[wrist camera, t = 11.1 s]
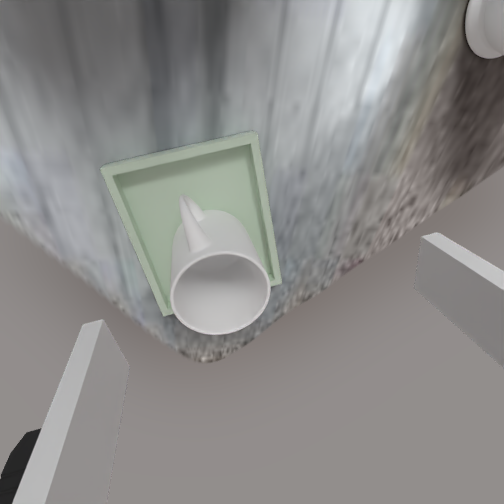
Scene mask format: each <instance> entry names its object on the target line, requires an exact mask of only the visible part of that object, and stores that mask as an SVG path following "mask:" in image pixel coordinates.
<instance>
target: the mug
mask: <svg viewBox="0 0 504 504" xmlns="http://www.w3.org/2000/svg"><path fill="white" fill-rule="evenodd" d="M179 207H180V214H181V219H182V223H181V224H180V226H179V227H178V229H177V231H176V233H175V235H174V238H173V244H172V262H171V284H170V303H171V307H172V310H173V312H174V314H175V316H176V317H177V318H178V319H179V321H180V322H181V323H183V324H184V325H185V326H186V327H188V328H190V329H192V330H194V331H196V332H199V333H203V334H208V335H223V334H229V333H232V332H236V331H238V330H241V329H243V328H245V327H246V326H248V325H250V324H251V323H252V322H254V321H255V320H256V319H257V318H258V317H259V316H260V315H261V314H262V312H263V311H264V309H265V308H266V306H267V303H268V301H269V298H270V291H271V286H270V280H269V277H268V275H267V272H266V270H265V268H264V266H263V264H262V262H261V260H260V258H259V256H258V254H257V252H256V250H255V247H254V245H253V243H252V241H251V239H250V237H249V235H248V233H247V231H246V229H245V227H244V226H243V225H242V223H241V222H240V221H239V220H238V219H237V218H235V217H234V216H233V215H231V214H229V213H227V212H224V211H221V210H203V211H202V210H201V208H200V207H199V206H198V205H197V204H196V203H195V202H194V201H193V200H192V199H191V198H190V197H188V196H187V195H184V194H182V195H181V196H180V198H179Z"/></svg>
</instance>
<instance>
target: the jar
mask: <svg viewBox="0 0 504 504" xmlns="http://www.w3.org/2000/svg"><path fill="white" fill-rule="evenodd" d="M465 31H466V37H467V41H468V44H469V46H470V48H471V49H472V51H473V52H474V53H475V54H477V55H478V56H480V57H482V58H487V59H491V58H497V57H500V56H503V55H504V0H470V1H469V4H468V8H467V12H466V20H465Z"/></svg>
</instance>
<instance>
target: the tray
mask: <svg viewBox="0 0 504 504" xmlns="http://www.w3.org/2000/svg"><path fill="white" fill-rule="evenodd" d="M100 171H101V173H102V176H103V178H104V180H105V183H106V185H107V187H108V190H109V192H110V194H111V197H112V199H113V201H114V203H115V206H116V208H117V210H118V213H119V215H120V217H121V220H122V222H123V224H124V227H125V229H126V231H127V234H128V236H129V238H130V241H131V243H132V245H133V248H134V250H135V252H136V254H137V257H138V259H139V261H140V264H141V266H142V268H143V271H144V273H145V275H146V278H147V280H148V282H149V285H150V287H151V289H152V292H153V294H154V296H155V298H156V301H157V303H158V305H159V308H160V310H161V312H162V315H163V317H164V316H167V315H171V314H174V312H173V310H172V307H171V303H170V284H171V262H172V244H173V238H174V235H175V233H176V231H177V229H178V227H179V226H180V224H181V223H182V219H181V214H180V207H179V198H180V196H181V195H182V194H184V195H187V196H188V197H190V198H191V199H192V200H193V201H194V202H195V203H196V204H197V205H198V206H199V207H200V208H201V210H202V211H203V210H221V211H224V212H227V213H229V214H231V215H233V216H234V217H235V218H237V219H238V220H239V221H240V222H241V223H242V225H243V226H244V227H245V229H246V231H247V233H248V235H249V237H250V239H251V241H252V243H253V245H254V247H255V250H256V252H257V254H258V256H259V258H260V260H261V262H262V264H263V266H264V268H265V270H266V272H267V275H268V277H269V280H270V286H271V287H272V286H275V285H279V284H282V280H281V274H280V267H279V261H278V255H277V249H276V243H275V237H274V231H273V225H272V219H271V213H270V207H269V200H268V194H267V188H266V182H265V176H264V170H263V164H262V158H261V152H260V146H259V140H258V133H257V132H255V131H248V132H244V133H239V134H235V135H231V136H226V137H222V138H217V139H213V140H209V141H204V142H200V143H195V144H191V145H187V146H182V147H178V148H174V149H169V150H165V151H160V152H156V153H152V154H147V155H143V156H138V157H134V158H130V159H125V160H121V161H117V162H112V163H108V164H105V165H103V166H102V167H101V168H100Z"/></svg>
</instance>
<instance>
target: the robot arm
mask: <svg viewBox="0 0 504 504" xmlns="http://www.w3.org/2000/svg"><path fill="white" fill-rule="evenodd" d="M414 289H415V290H416V291H418V292H419V293H420V294H421V295H422V296H423V297H424V298H425V299H427V300H428V301H429V302H430V303H431V304H432V305H433V306H434V307H436V308H437V309H438V310H439V311H440V312H441V313H443V315H444V316H446V317H447V318H448V319H449V320H450V321H451V322H452V323H453V324H455V325H456V326H457V327H458V328H459V329H460V330H461V331H462V332H464V333H465V334H466V335H467V336H468V337H469V338H470V339H471V340H473V341H474V342H475V343H476V344H477V345H478V346H479V347H480V348H482V349H483V350H484V351H485V352H486V353H487V354H488V355H489V356H490V357H492V358H493V359H494V360H495V361H496V362H497V363H498V364H499V365H501V366H502V367H503V368H504V271H502V270H501V269H499V268H497V267H496V266H494V265H492V264H491V263H489V262H487V261H485V260H484V259H482V258H480V257H479V256H477V255H475V254H474V253H472V252H470V251H468V250H467V249H465V248H463V247H462V246H460V245H458V244H457V243H455V242H453V241H452V240H450V239H448V238H447V237H445V236H443V235H442V234H440V233H433V234H429V235H426V236H422V237H421V242H420V249H419V256H418V263H417V270H416V277H415V283H414ZM129 370H130V366H129V363H128V362H127V360H126V358H125V356H124V355H123V353H122V351H121V349H120V348H119V346H118V344H117V342H116V341H115V339H114V337H113V335H112V333H111V332H110V330H109V328H108V326H107V325H106V323H105V321H104V319H102V320H98V321H94V322H91V323H86V324H83V325H82V327H81V330H80V333H79V335H78V338H77V340H76V343H75V345H74V348H73V350H72V353H71V355H70V358H69V360H68V363H67V365H66V368H65V371H64V373H63V376H62V378H61V381H60V383H59V386H58V389H57V391H56V394H55V396H54V398H53V401H52V404H51V406H50V409H49V411H48V414H47V416H46V419H45V421H44V424H43V426H42V428H41V429H38V430H34V431H31V432H27V433H26V434H25V435H24V436H23V438H22V439H21V440H20V442H19V443H18V444H17V446H16V447H15V448H14V450H13V451H12V452H11V454H10V456H9V458H8V460H7V462H6V465H5V467H4V469H3V472H2V474H1V479H0V504H107V499H108V493H109V487H110V481H111V475H112V470H113V464H114V458H115V452H116V446H117V440H118V434H119V429H120V423H121V417H122V411H123V405H124V399H125V394H126V387H127V381H128V376H129Z"/></svg>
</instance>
